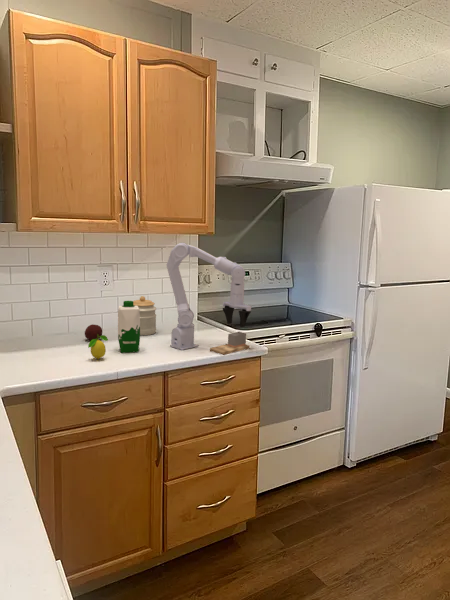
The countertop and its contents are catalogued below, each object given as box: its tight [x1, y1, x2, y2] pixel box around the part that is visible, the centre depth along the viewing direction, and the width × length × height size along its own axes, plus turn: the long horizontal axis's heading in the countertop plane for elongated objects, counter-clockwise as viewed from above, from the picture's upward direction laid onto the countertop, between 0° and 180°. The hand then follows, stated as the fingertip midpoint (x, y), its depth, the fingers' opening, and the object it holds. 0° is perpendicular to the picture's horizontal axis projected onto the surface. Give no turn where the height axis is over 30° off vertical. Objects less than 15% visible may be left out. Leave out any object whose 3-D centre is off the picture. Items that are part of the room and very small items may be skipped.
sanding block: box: [227, 331, 247, 347], centre depth 201 cm, size 7×4×5 cm, turn 136°
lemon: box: [87, 334, 109, 360], centre depth 178 cm, size 7×6×10 cm
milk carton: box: [117, 300, 141, 354], centre depth 191 cm, size 9×9×20 cm
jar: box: [132, 295, 157, 336], centre depth 222 cm, size 13×13×18 cm
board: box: [209, 343, 251, 356], centre depth 198 cm, size 16×8×1 cm, turn 136°
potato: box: [84, 323, 103, 341], centre depth 207 cm, size 7×8×7 cm
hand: (235, 325), depth 200 cm, fingers open, 7 cm apart
